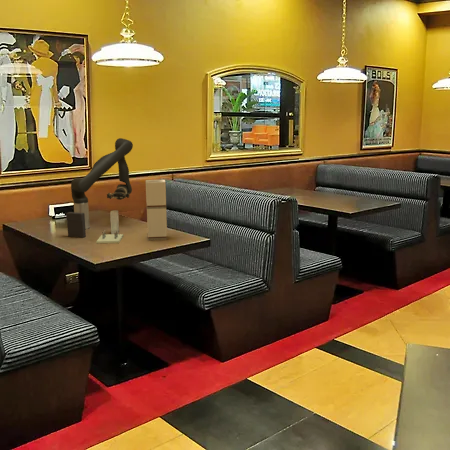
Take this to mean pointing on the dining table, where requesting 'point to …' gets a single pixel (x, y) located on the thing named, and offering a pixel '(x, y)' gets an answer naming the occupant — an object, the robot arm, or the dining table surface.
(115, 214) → the block
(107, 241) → the pin tray
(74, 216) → the dark brown upright block
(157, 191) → the beige rectangular tower
